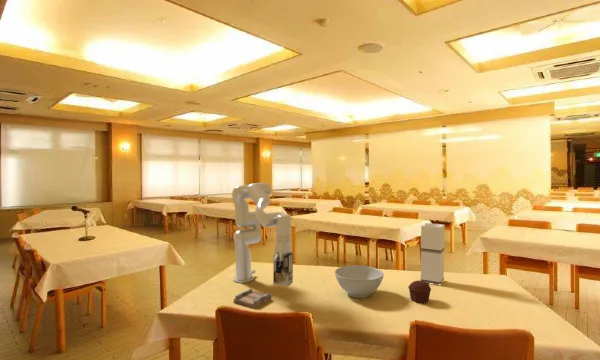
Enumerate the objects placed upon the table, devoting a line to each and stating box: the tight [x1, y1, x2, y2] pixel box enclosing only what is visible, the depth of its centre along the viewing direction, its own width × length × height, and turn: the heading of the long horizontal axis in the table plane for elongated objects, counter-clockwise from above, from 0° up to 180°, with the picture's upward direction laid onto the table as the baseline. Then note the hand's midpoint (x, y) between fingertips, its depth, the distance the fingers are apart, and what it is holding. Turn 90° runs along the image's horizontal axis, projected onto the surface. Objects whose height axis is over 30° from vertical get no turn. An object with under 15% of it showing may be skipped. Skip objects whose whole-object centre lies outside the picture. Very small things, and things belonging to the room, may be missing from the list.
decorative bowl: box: [334, 264, 384, 299], centre depth 188 cm, size 27×27×12 cm
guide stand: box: [233, 288, 272, 309], centre depth 178 cm, size 14×14×4 cm
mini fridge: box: [420, 222, 445, 284], centre depth 206 cm, size 11×11×35 cm
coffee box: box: [272, 252, 294, 287], centre depth 179 cm, size 9×6×16 cm
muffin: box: [408, 280, 432, 304], centre depth 178 cm, size 12×11×10 cm
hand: (283, 270), depth 179 cm, fingers closed on coffee box, 7 cm apart
